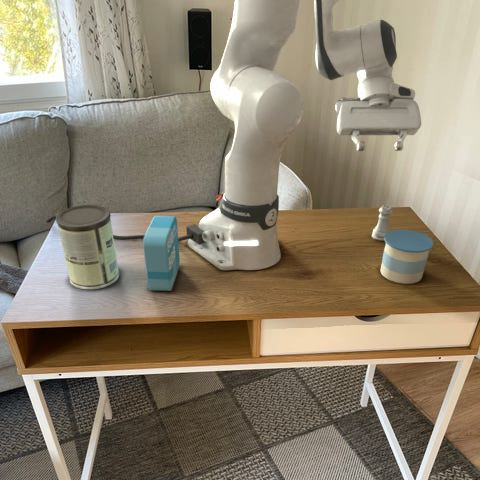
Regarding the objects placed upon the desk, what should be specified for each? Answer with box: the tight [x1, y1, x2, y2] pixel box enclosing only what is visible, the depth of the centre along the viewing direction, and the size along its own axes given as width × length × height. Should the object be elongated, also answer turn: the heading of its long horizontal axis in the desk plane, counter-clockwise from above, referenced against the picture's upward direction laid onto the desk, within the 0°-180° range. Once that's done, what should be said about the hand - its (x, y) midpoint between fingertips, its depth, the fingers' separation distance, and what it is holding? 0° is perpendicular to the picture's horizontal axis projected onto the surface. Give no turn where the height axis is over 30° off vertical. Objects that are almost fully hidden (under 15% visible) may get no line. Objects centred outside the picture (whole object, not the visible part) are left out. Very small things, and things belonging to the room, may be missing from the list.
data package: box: [142, 215, 181, 292], centre depth 102 cm, size 12×4×12 cm, turn 176°
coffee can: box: [55, 204, 120, 291], centre depth 101 cm, size 10×10×14 cm
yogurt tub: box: [380, 229, 434, 285], centre depth 106 cm, size 10×10×8 cm
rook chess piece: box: [371, 204, 394, 242], centre depth 120 cm, size 4×4×8 cm
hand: (380, 149), depth 122 cm, fingers open, 8 cm apart
